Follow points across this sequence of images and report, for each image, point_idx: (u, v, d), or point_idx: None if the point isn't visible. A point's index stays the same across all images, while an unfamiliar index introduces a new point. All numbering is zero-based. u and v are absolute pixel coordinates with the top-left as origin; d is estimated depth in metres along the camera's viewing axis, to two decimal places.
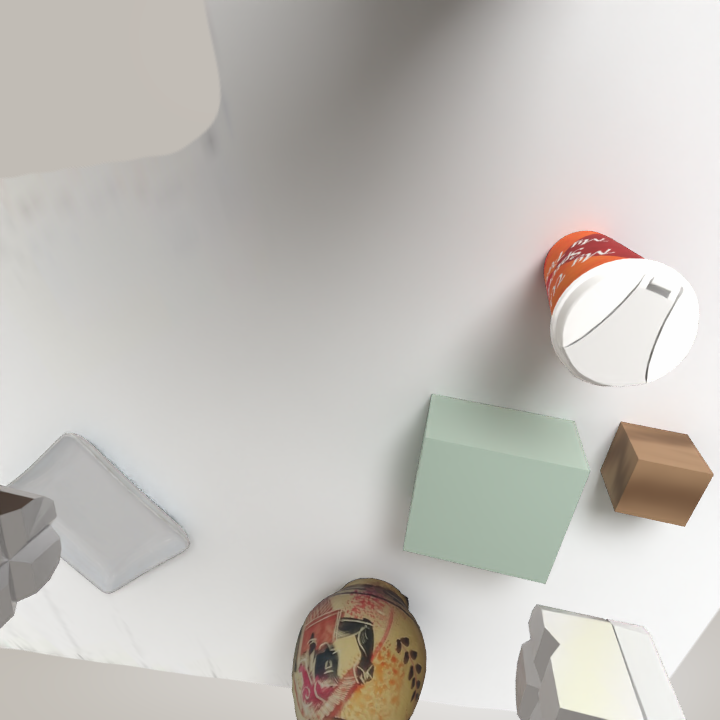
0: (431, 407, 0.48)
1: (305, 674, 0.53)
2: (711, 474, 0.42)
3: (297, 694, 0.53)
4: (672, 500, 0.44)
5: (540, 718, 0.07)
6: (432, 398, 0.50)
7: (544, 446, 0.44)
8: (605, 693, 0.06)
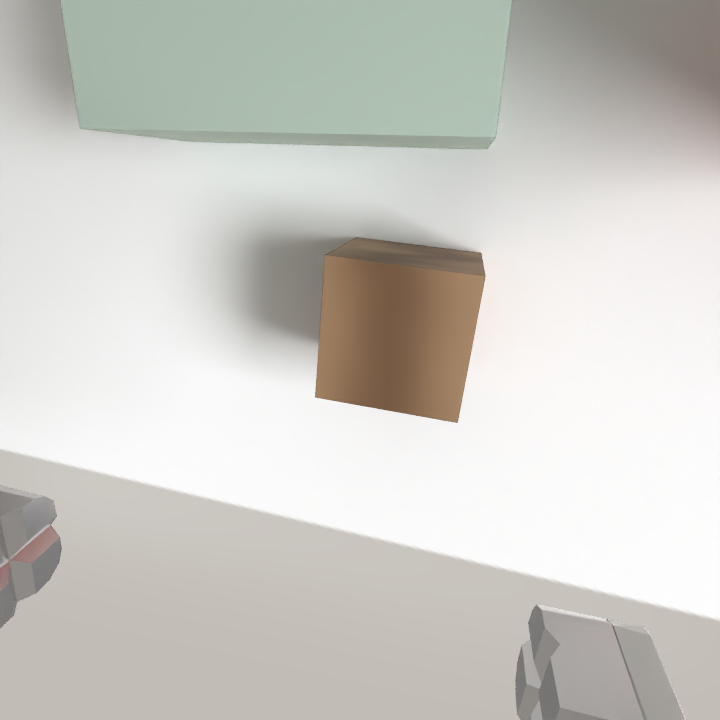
0: None
1: None
2: (456, 419, 0.20)
3: None
4: (379, 364, 0.20)
5: (540, 718, 0.07)
6: None
7: None
8: (605, 693, 0.06)
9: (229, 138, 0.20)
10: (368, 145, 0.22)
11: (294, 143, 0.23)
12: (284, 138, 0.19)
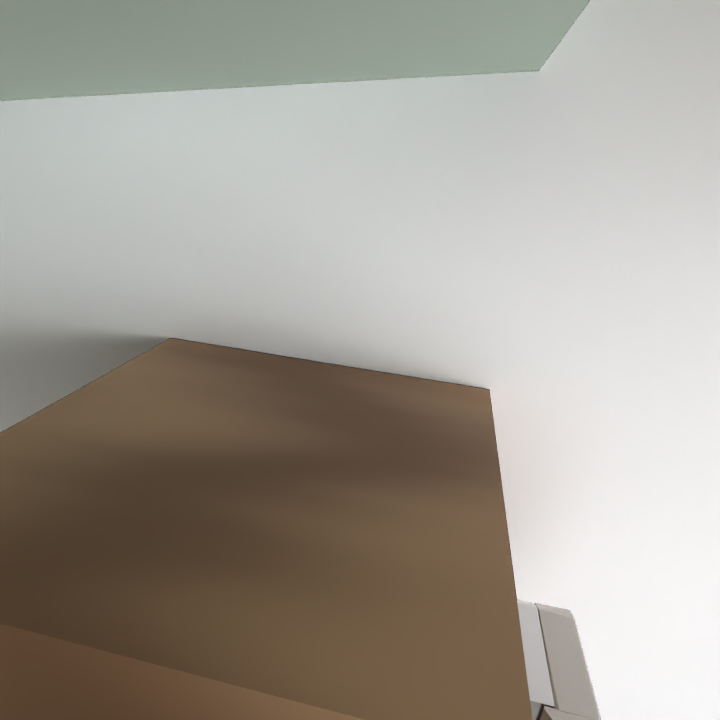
0: None
1: None
2: None
3: None
4: None
5: None
6: None
7: None
8: None
9: None
10: (172, 80, 0.07)
11: None
12: None
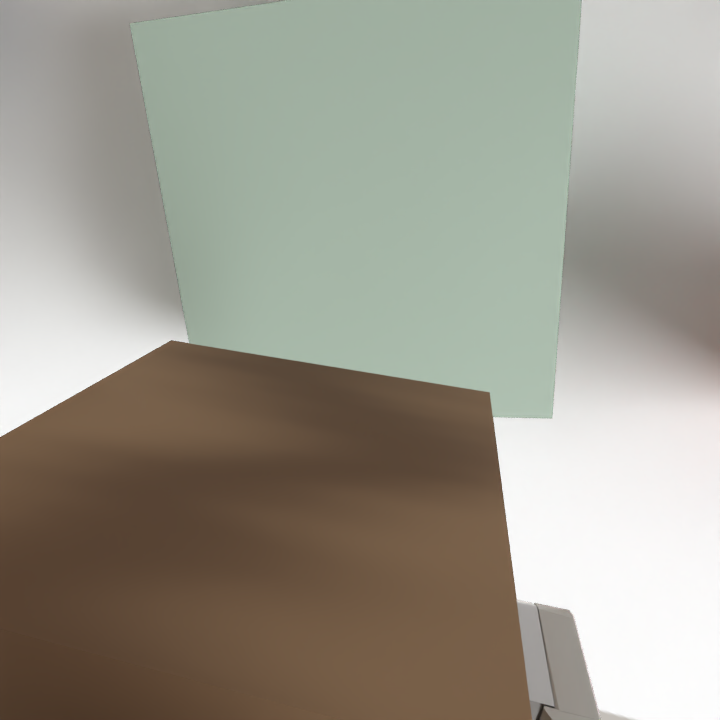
0: None
1: None
2: None
3: None
4: None
5: None
6: None
7: None
8: None
9: None
10: None
11: None
12: None
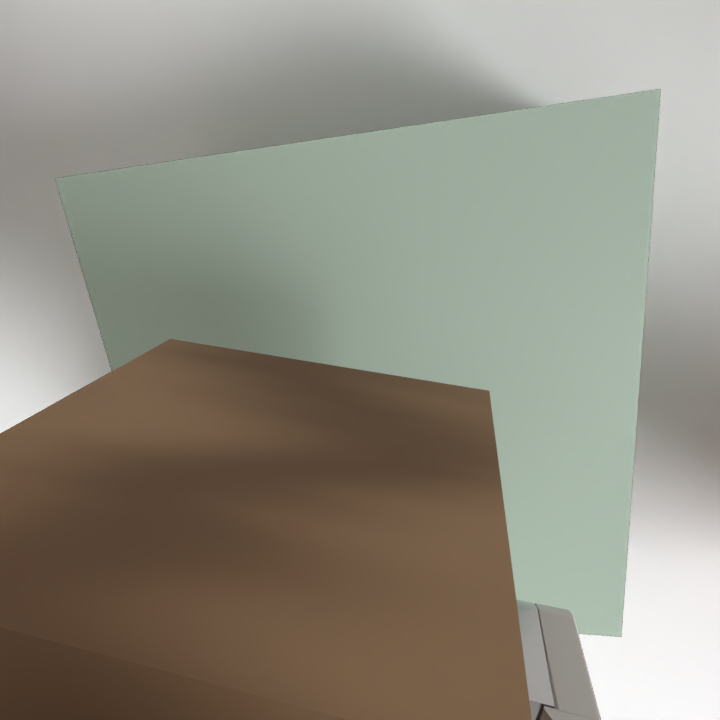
0: None
1: None
2: None
3: None
4: None
5: None
6: None
7: None
8: None
9: None
10: None
11: None
12: None
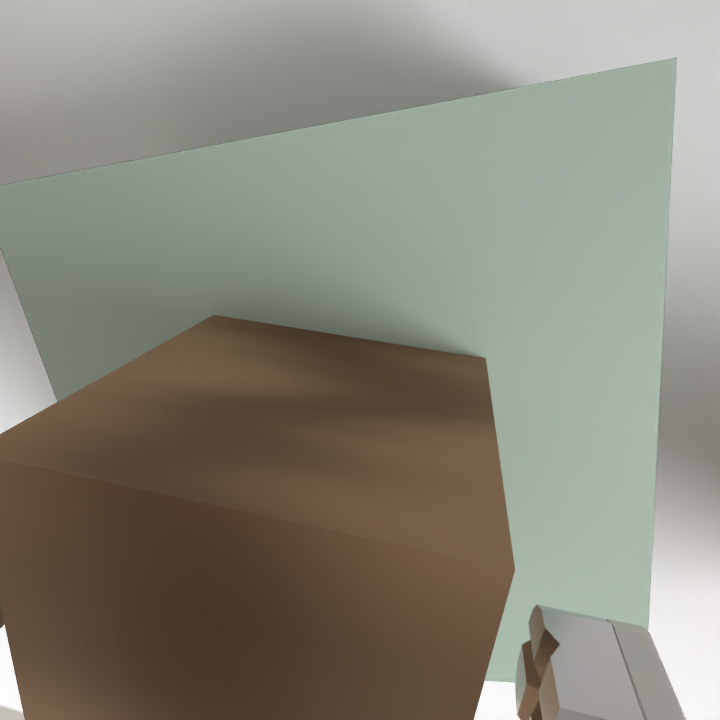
0: None
1: None
2: None
3: None
4: None
5: (540, 718, 0.07)
6: None
7: None
8: (605, 693, 0.06)
9: None
10: None
11: None
12: None
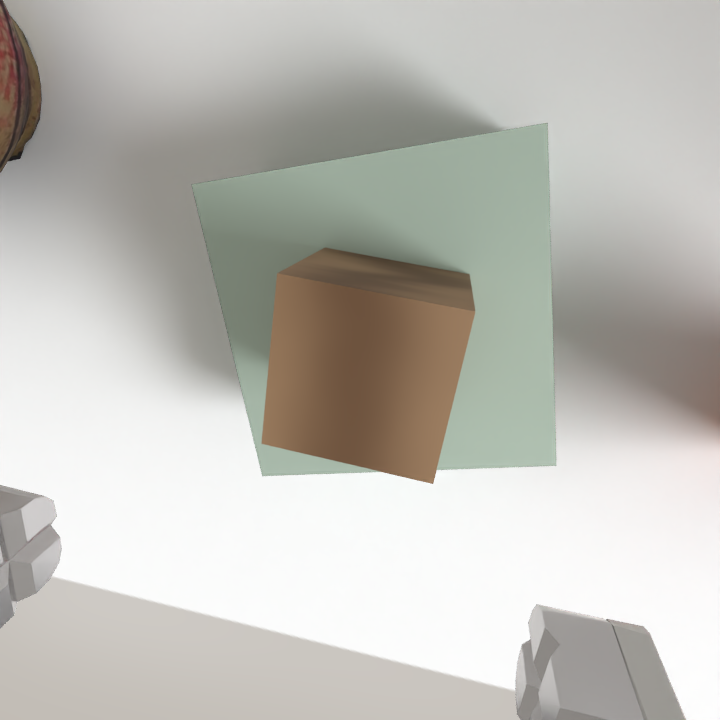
0: None
1: None
2: (432, 479, 0.17)
3: None
4: (340, 410, 0.16)
5: (540, 718, 0.07)
6: None
7: None
8: (605, 693, 0.06)
9: None
10: None
11: None
12: None
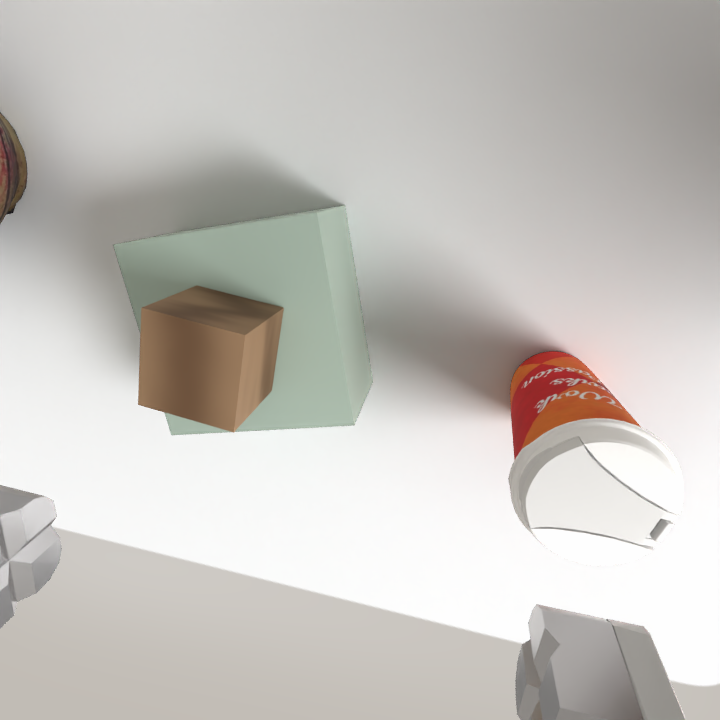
0: (337, 210, 0.34)
1: None
2: (233, 429, 0.28)
3: None
4: (180, 386, 0.28)
5: (540, 718, 0.07)
6: (342, 207, 0.36)
7: (352, 365, 0.35)
8: (605, 693, 0.06)
9: None
10: None
11: None
12: None
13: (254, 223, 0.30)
